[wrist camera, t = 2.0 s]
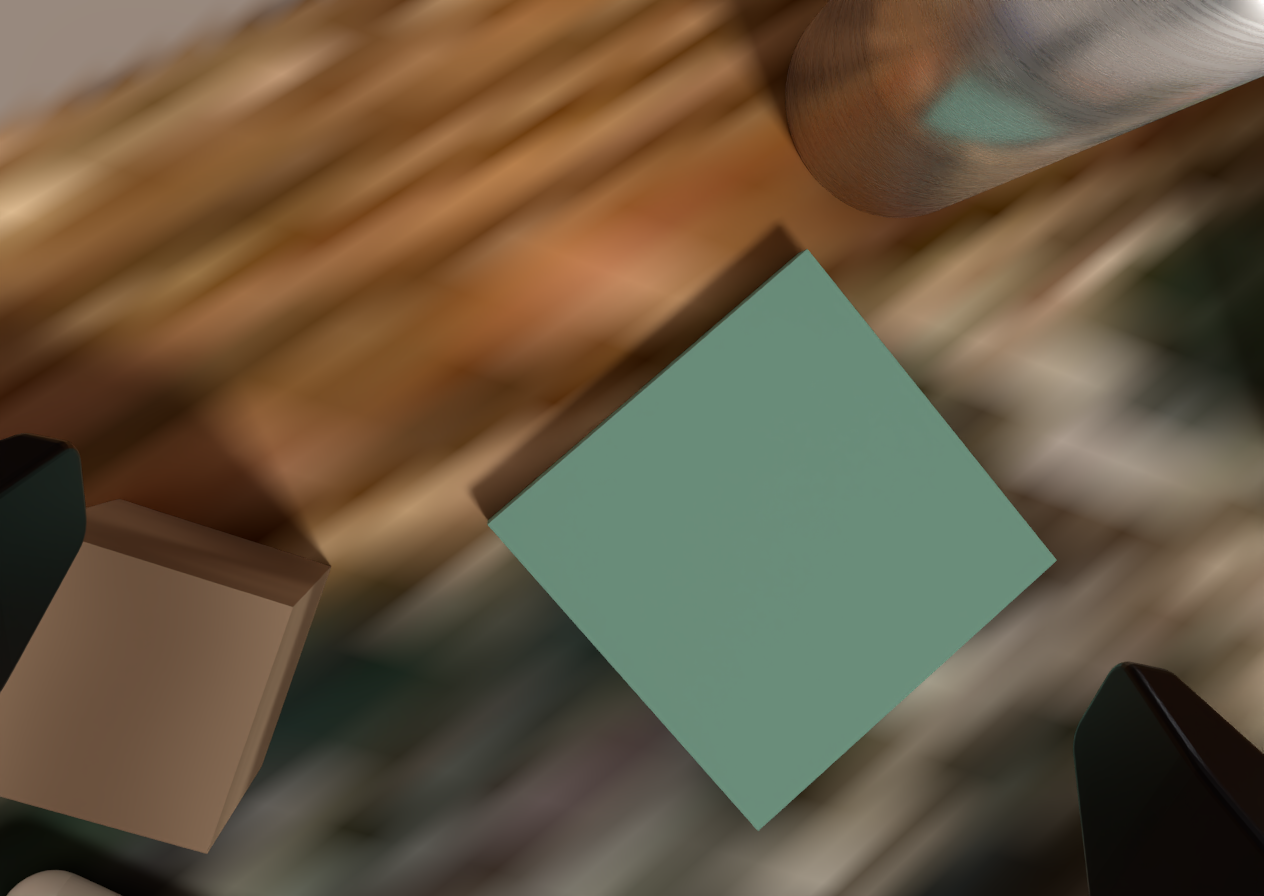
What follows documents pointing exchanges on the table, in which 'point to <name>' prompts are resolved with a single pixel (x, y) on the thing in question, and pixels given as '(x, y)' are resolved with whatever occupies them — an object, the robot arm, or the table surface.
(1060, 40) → the bottle
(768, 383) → the mat
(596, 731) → the table surface
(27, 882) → the chalk
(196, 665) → the walnut block
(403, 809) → the table surface
